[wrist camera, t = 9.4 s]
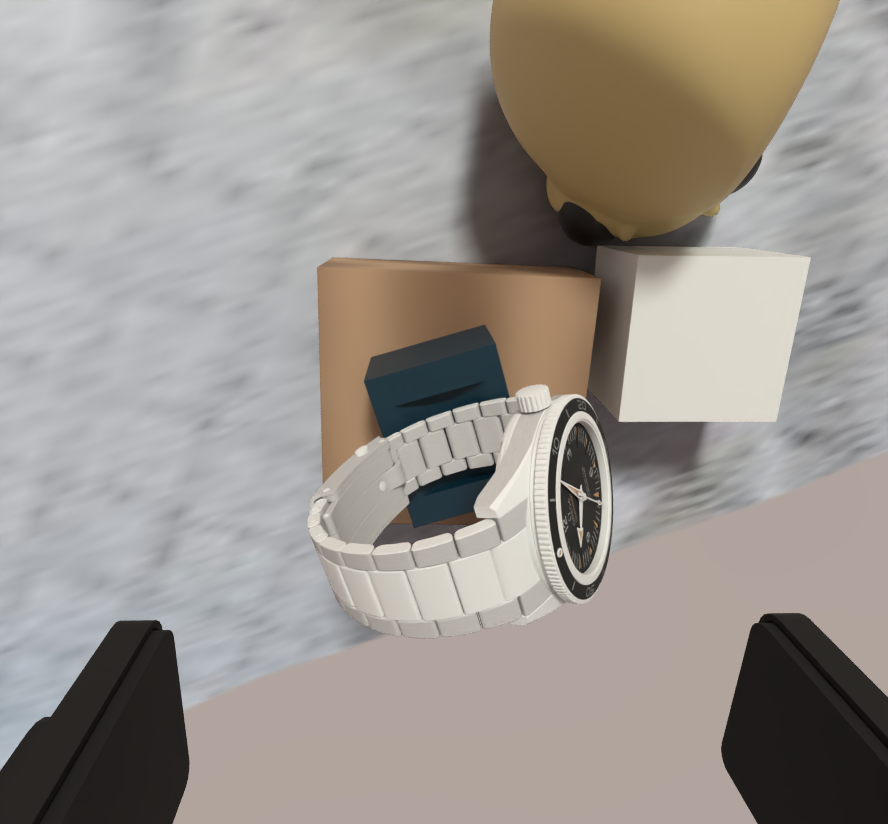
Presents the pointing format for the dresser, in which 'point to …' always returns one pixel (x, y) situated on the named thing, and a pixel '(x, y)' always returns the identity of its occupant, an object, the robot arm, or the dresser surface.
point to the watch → (466, 496)
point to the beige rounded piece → (649, 101)
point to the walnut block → (445, 333)
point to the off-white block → (694, 332)
